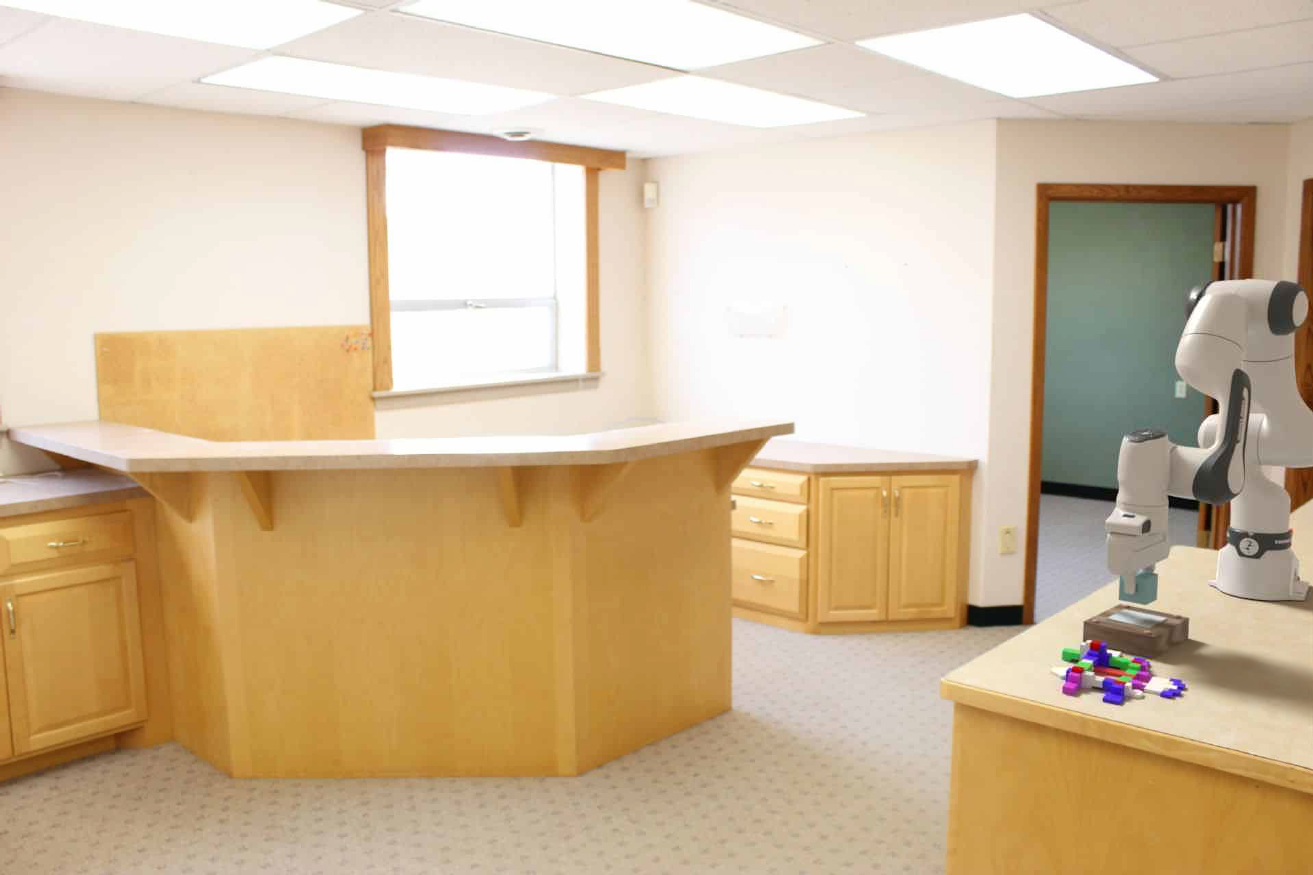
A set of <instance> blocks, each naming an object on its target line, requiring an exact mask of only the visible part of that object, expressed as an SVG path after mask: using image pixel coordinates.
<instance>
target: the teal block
mask: <svg viewBox="0 0 1313 875" xmlns="http://www.w3.org/2000/svg"><path fill="white" fill-rule="evenodd" d="M1158 579H1159V573H1156V572H1154V573H1150V572H1145V571H1142V570H1139V571H1137V574H1136V577H1135V581H1136V584H1138V587H1137V592H1136V593H1134V594H1127V593H1125V591H1124V590H1125V584H1124V581H1123V578H1122V575H1119V584H1118V585H1119V586H1118V600H1119V601H1122V602H1128V603H1132V604H1138V605H1142V606H1147V605H1150V604H1151V603H1153V602H1156V601H1157V600H1158V584H1159V583H1158V582H1159V580H1158Z"/></svg>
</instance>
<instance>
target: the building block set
mask: <svg viewBox="0 0 1313 875" xmlns="http://www.w3.org/2000/svg"><path fill="white" fill-rule="evenodd" d="M1061 652H1062V653H1061V660H1062V661H1067V662H1071V661H1073V660H1077V661H1078V662H1077V663H1076V664H1075V665H1073V666H1072V667H1069V666H1066V667H1064V666H1063V667H1052V668H1051V670H1050V674H1051V675H1052V676H1054V677H1056V678H1058V679H1059V680H1064V679H1065V683H1064V684H1063V685H1062V690H1061V691H1062V692H1061V693H1062V694H1065V695H1070V696H1074V695H1075V694H1076V693H1077V692H1078V691H1079V690H1080V689H1081V688H1087V689H1092V688H1093V687H1095V688H1102V691H1103V692H1106V693H1105V695H1104V696H1103V697H1102V698H1101V699H1102V700H1101V701H1102V703H1107V704H1111V705H1112V704H1113V705H1118V706H1120V705H1121V704H1122V703H1123V702H1124V701H1125V699H1126V696H1127V697H1130V698H1133V699H1141V698H1143V695H1144V693H1148V694H1152V695H1153V694H1154V695H1158V696H1159V697H1160V698H1165V699H1170V700H1171V699H1172V698H1173V697H1178V698H1179V697H1180V696H1181V695H1182V691H1184V690H1185V688H1186V684H1185V683H1183V680H1182V679H1177V678H1172V677H1171V678H1170V679H1168V678H1164V677H1158V676H1154V675H1153V676H1152V675H1150V672H1149V666H1150V665H1151V664H1150V661H1148V660H1146V659H1145V658H1143V657H1142V658H1141V657H1136V656H1135V657H1134V658H1132V659H1129V658H1126V657H1121V656H1122V651H1119V650H1114V649H1108V648H1107V643H1102V642H1097V641H1091V640H1087V641H1086V642H1083V641H1082V642H1081V643H1080V644H1079V649H1074V648H1069V647H1067V648H1064V649H1062V651H1061ZM1111 667H1116V668H1119V669H1116V668H1111ZM1095 673H1096V674H1095ZM1098 674H1100V675H1098ZM1103 675H1106V676H1103ZM1108 676H1109V677H1108ZM1110 676H1111V677H1110ZM1113 677H1116V678H1113ZM1143 682H1144V683H1145V682H1146V684H1143Z"/></svg>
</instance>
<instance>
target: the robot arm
mask: <svg viewBox="0 0 1313 875" xmlns="http://www.w3.org/2000/svg"><path fill="white" fill-rule="evenodd" d="M1308 310H1309V297H1308V293H1307V291H1306V290H1305V288H1303V286H1302V285H1301V284H1299V283H1296V282H1292V281H1289V280H1280V281H1276V280H1269V279H1257V278H1245V279H1230V280H1218V281H1217V280H1214V279H1211V280H1206V281H1201V282H1200V283H1199V282H1198V283H1197V284H1195V285H1194V286H1193V287H1192V288H1191V289H1190V290H1189V292H1188V293H1187V296H1186V298H1185V302H1184V316H1185V320H1186V324H1185V327H1184V329H1183V332H1182V334H1181V337H1180V340H1179V343H1178V346H1177V349H1176V353H1175V360H1174V365H1175V369H1176V372H1177V373H1178V376H1180V378H1181V380H1183V382H1185V383H1186V384H1188V385H1189V386H1190V387H1191V388H1193V389H1194V390H1196V391H1197V392H1200V393H1202V394H1204V395H1206V396H1209V397H1211V398H1213V399H1215V400H1216V401H1217V403H1218V407H1219V409H1218V410H1219V411H1218V413H1216V414H1211V415H1209V416H1208V417H1206V418H1205V419H1204V420H1203V422H1202V423H1201V425H1200V427H1199V428H1198V433H1197V443H1198V446H1199V447H1192V446H1184V445H1179V444H1176V443H1173V442H1171V441H1170V440H1169V437H1168V434H1167V432H1165V431H1163V430H1159V429H1154V428H1152V429H1151V428H1149V429H1148V428H1145V429H1137V430H1136V429H1135V430H1132V431H1130V432H1128V433H1127V434H1125V435H1124V436H1123V438H1122V441H1121V445H1120V450H1119V455H1118V461H1117V462H1118V463H1117V481H1118V487H1119V488H1118V493H1117V496H1116V502H1115V503H1116V504H1115V507H1114V509H1113V512H1112V513H1111V514H1110V516H1109V517H1107V518H1106V520H1105V523H1104V524H1105V525H1104V529H1105V531H1106V532H1108V534H1107V537H1106V546H1105V547H1106V550H1105V552H1106V553H1105V554H1106V557H1105V558H1106V560H1105V561H1106V569H1107V571H1108V573H1109V574H1112V575H1117V576H1120V575H1122V578H1123V581H1124V584H1125V590H1124V591H1125V593H1127V594H1134V593H1136V592H1137V587H1138V584H1136V581H1135V577H1136V574H1137V571H1145V572H1150V573H1155V570H1156V567H1157V566H1156V564H1157V563H1160V562H1161V561H1164V560H1167V559H1168V557H1169V556H1170V554H1171V553H1170V552H1171V530H1170V525H1169V522H1168V521H1169V520H1168V519H1169V503H1170V502H1169V497H1168V496H1172V497H1176V498H1180V499H1181V498H1182V499H1187V500H1196V501H1198V502H1201V503H1206V504H1210V505H1212V506H1213V505H1214V506H1223V505H1225V504H1227V503H1229V502H1230V521H1229V523H1230V524H1229V525H1228V526H1227V531H1226V542H1227V544H1226V545H1225V546H1223V547H1222V548H1220V549H1219V552H1218V559H1217V567H1216V575H1215V576H1216V577H1213V578H1210V579H1209V581H1208V585H1210V586H1212V587H1215V588H1217V589H1218V591H1219V590H1220V592H1223V593H1224V594H1227V595H1231V596H1235V597H1238V598H1239V597H1240V598H1243V599H1244V598H1246V599H1250V600H1252V599H1253V600H1263V601H1305V600H1306V597H1307V594H1308V591H1309V589H1310V586H1311V585H1310V581H1309V580H1306V579H1304V578H1300V576H1299V572H1300V571H1299V569H1300V560H1299V559H1298V557H1297V555H1296V554H1295V553H1294V551H1293V550H1292V548H1291V547H1292V546H1293V545H1292V540H1293V535H1294V534H1293V533H1294V532H1293V531H1294V530H1293V528H1292V527H1290V520H1291V518H1290V517H1291V503H1292V500H1291V496H1290V494H1289V492H1288V491H1287V490H1286V489H1285V488H1284V487H1283V486H1281V485H1280V484H1278V483H1276V482H1275V481H1273V480H1271V479H1269V478H1268V477H1266V475H1265V474H1264V472H1263V470H1262V467H1261V466H1269V467H1270V466H1271V467H1280V468H1281V467H1282V468H1290V469H1291V468H1293V469H1298V468H1299V469H1300V468H1312V467H1313V410H1311V409H1310V407H1308V405H1307V404H1306V402H1304V399H1303V398H1302V397H1301V395H1300V392H1299V390H1298V386H1297V377H1296V368H1295V367H1296V366H1295V365H1296V363H1295V360H1296V359H1295V356H1296V355H1295V351H1296V350H1295V335H1294V333H1295V332H1296V331H1298V330H1299V329H1300V328H1302V326H1303V325H1304V323H1305V321H1306V320H1307V316H1308V313H1309V311H1308ZM1251 403H1252V404H1254V405H1256V406H1257V407H1258V408H1259V409H1260V410H1261V411H1262V412H1263V413H1255V412H1254V413H1253V412H1252V413H1251Z"/></svg>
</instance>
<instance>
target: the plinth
mask: <svg viewBox="0 0 1313 875" xmlns="http://www.w3.org/2000/svg"><path fill="white" fill-rule="evenodd" d="M1082 628H1083V630H1082V632H1083V633H1082V642H1086V641H1087V640H1091V641H1097V642H1102V643H1107V649H1109V650H1114V651H1118V652H1124V653H1128V654H1131V655H1137V656H1141V657H1146V658H1150V659H1155V658H1157V657H1159V656H1161V655H1162V654H1164V653H1166V652H1167V651H1169V650H1170V649H1172V648H1174V647H1176V646H1177V645H1179V644H1181V643H1182V642H1184V641H1185V640H1187V639H1188V638H1189V630H1190V617H1188V616H1183V615H1180V614H1174V613H1173V614H1172V613H1169V612H1163V611H1157V610H1153V609H1148V608H1142V607H1138V606H1133V605H1132V606H1131V605H1129V604H1123V603H1119V604H1117V605H1115V606H1113V607H1111V608H1109V609H1106V610H1105V611H1102V612H1100V613H1098V614H1096V615H1094V616H1092V617H1090V618H1088V619H1086V620H1084V621H1083V626H1082ZM1168 649H1169V650H1168Z"/></svg>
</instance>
